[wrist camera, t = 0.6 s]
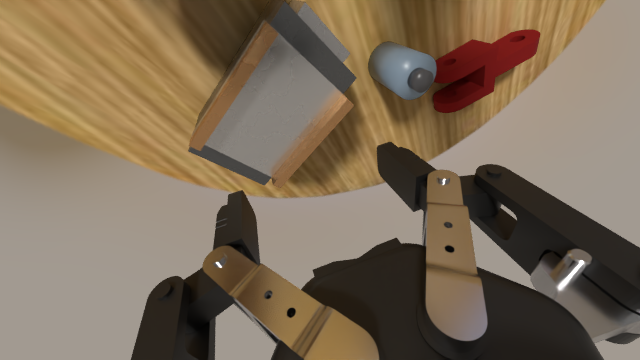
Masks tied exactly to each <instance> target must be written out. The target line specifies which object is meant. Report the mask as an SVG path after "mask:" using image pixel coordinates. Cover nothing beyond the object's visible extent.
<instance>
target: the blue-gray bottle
mask: <svg viewBox="0 0 640 360" xmlns="http://www.w3.org/2000/svg"><path fill="white" fill-rule="evenodd" d="M368 69H369V73H370V75H371V77H372V78H374V79H375V80H376V81H378V82H379V83H381V84H382V85H384V86H385V87H387V88H388V89H390V90H391V91H393V92H394V93H396V94H397V95H399V96H400V97H402V98H403V99H406V100H413V99H416V98H418V97H420V96H422V95H423V94H424V93H425V92H426V91H427V90H428V89H429V88H430V86H431V85H432V83H433V81H434V79H435V76H436V62H435V60H434V59H433V57H431V56H430V55H427V54H425V53H422V52H419V51H416V50H413V49H411V48H408V47H405V46H402V45H399V44H397V43H394V42H384V43H382V44H380V45H378V46H377V47H376V48H375V49H374V51H373V52H372V54H371V56H370V58H369V63H368Z"/></svg>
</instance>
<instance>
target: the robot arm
mask: <svg viewBox="0 0 640 360" xmlns="http://www.w3.org/2000/svg"><path fill="white" fill-rule="evenodd" d="M377 162H378V171H379V174H380V176H381V177H382V178H383V179H384V180H385V181H386V182H387V183H388V185H389V186H390V187H391V188H392V189H393V190H394V191H395V192H396V193H397V194H398V195H399V196H400V198H402V200H403V201H404V202H405V203H406V204H407V205H408V206H409V207H410V208H411V209H412V211H413V212H415V211H417V210H420V209H422V210H423V211H424V214H423V232H422V235H423V236H422V245H418V244H411V243H405V244H404V243H403V244H401V243H400V242H399V240H398V239H397V238H394V239H392V240H389V241H387V242H384V243H382V244H379V245H377V246H375V247H374V248H372V249H371V250H369V251H368V252H367V253H365V254H364V255H362V256H361V257H359V258H357V259H351V260H343V261H336V262H332V263H329V264H327V265H324V266H321V267H319V268H317V269H314V270H313V273H314V276H315V277H314V278H312V279H311V280H310V281H309V282H307V283H306V284H305V286H304V287H303V288H302V289H301V290H300V289H299V288H297V287H296V286H294V285H293V284H292V283H290V282H288V281H287V280H286V279H284V278H282V277H281V276H280V275H278V274H277V273H275V272H274V271H272V270H271V269H270V268H268V267H267V266H265V265H263V264H260V258H259V245H258V234H257V222H256V216H255V213H254V211H253V209H252V207H251V205H250V203H249V201H248V199H247V197H246V195H245V193H244V192H243V190H241V191H238V192H235V193H232V194H229V195H228V205H225V206H222V207H221V209H220V210H219V212H218V214H217V220H216V222H217V223H216V230H215V238H214V246H213V251H212V252H210V253H209V254H208V256H207V257H206V258H205V260H204V262H203V267H202V268H201V269H200V270H198V271H197V272H195V273H194V274H192V275H191V276H189V277H187V278H186V279H184V280H183V279H182V278H181V277H179V276H173V277H170V278H167V279H165V280H163V281H162V282H160V283H159V284H158V285H157V286H156V287H155V288H154V289H153V290H152V292H151V293H150V295H149V297H148V299H147V303H146V306H145V310H144V313H143V317H142V321H141V325H140V328H139V332H138V336H137V339H136V343H135V346H134V350H133V354H132V358H131V360H215V317H216V316H217V315H219V314H220V313H221V312H223V311H224V310H225V309H227V308H228V307H229V306H231V305H232V304H234V305H235V306H237V307H238V308H239V309H240V310H241V311H242V312H243V313H244V314H245V315H246V316H247V317H248V318H249V319H250V320H252V321H253V322H254V323H255V324H256V325H257V326H258V327H259V328H260V329H261V330H262V331H263V332H264V333H265V334H266V335H267V336H268V337H269V338H270V339H271V340H272V341H273V342H274V343H275V344H276V345H277V346H276V348H275V350H274V353H273V355H272V358H271V360H604V359H603V357H602V356H601V354H600V353H599V351H598V349H597V348H596V346H595V344H594V343H597V342H599V341H602V340H606V341H609V342H612V343H617V344H628V343H630V342H632V341H634V340H635V339H637V338H639V337H640V248H639V247H637V246H636V245H634V244H632V243H631V242H629V241H627V240H626V239H624V238H622V237H621V236H619V235H617V234H616V233H614V232H612V231H611V230H609V229H607V228H606V227H604V226H602V225H601V224H599V223H597V222H595V221H594V220H592V219H590V218H589V217H587V216H586V215H584V214H582V213H580V212H579V211H577V210H576V209H574V208H572V207H570V206H569V205H567V204H565V203H564V202H562V201H560V200H559V199H557V198H555V197H554V196H552V195H550V194H549V193H547V192H545V191H544V190H542V189H540V188H539V187H537V186H535V185H533V184H532V183H530V182H528V181H527V180H525V179H524V178H522V177H520V176H519V175H517V174H515V173H514V172H512V171H510V170H508V169H507V168H505V167H502V166H499V165H493V164H487V165H482V166H479V167H478V168H477V169H476V173H475V175H468V176H458V175H457V174H456V173H454V172H451V171H448V170H436V169H435V168H433V167H432V166H431V165H429V164H428V163H427V162H425V161H424V160H423V159H420V157H419V156H417V155H415V153H413V152H412V151H410V150H409V149H406V148H403V147H399V148H398V147H397V146H396V145H394V144H393V143H392V142H388V143H385V144H382V145H379V146H377ZM501 204H503V205H504V206H506V207H507V208H508V209H510V210H511V211H512V212H513V213H514V214H515V215H516V217H517V220H516V219H514V218H513V217H512V216H510V215H509V214H508V213H507V212H505V211H504V210H503V209H501V208H500V207H501ZM469 219H471V220H472V221H473V222H474V223H475V224H476V225H477V226H478V227H479V228H480V229H481V230H482V231H483V232H485V234H487V235H488V236H489V237H490V238H491V239H492V240H493V241H494V242H495V243H496V244H497V245H498V246H499V247H501V249H503V250H504V251H505V252H506V253H507V254H508V255H509V256H510V257H511V258H512V259H513V260H514V261H515V262H517V264H519V265H520V266H521V267H522V268H523V269H524V270H525V271H526V272H527V273H528V274H529V275H530V276H531V282H532V284H533V286H534V287H535V289H536V290H537V291H536V290H534V289H531V288H529V287H526V286H524V285H521V284H518V283H516V282H513V281H511V280H509V279H506V278H504V277H501V276H499V275H496V274H494V273H491V272H489V271H486V270H484V269H481V268H479V267H476V261H475V254H474V247H473V240H472V234H471V227H470V220H469Z"/></svg>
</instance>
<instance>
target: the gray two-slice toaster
mask: <svg viewBox="0 0 640 360" xmlns="http://www.w3.org/2000/svg"><path fill="white" fill-rule="evenodd" d="M349 54H350V53H349V52H348V50H347V49H346V48H345V47H344V46H343V45H342V44H341V42H340V41H339V40H338V39H337V38H336V37H335V36H334V35H333V33H332V32H331V31H330V30H329V29H328V28H327V27H326V25H325V24H324V23H323V22H322V21H321V20H320V19H319V17H318V16H317V15H316V14H315V13H314V12H313V11H312V9H311V8H310V7H309V6H308V5H307V4H306V3H305V2H302V1H298V0H291V2H290V4H289V5H288V4H287V3H286V2H285V1H283V0H270V1H269V2H268V4H267V6H266V7H265V9H264V11H263V12H262V14H261V15H260V17H259V19H258V20H257V22H256V23H255V25H254V27H253V28H252V30H251V31H250V33H249V35H248V36H247V38H246V40H245V41H244V43H243V44H242V46H241V48H240V49H239V51H238V52H237V54H236V56H235V57H234V59H233V60H232V62H231V64H230V65H229V67H228V69H227V70H226V72H225V73H224V75H223V77H222V78H221V80H220V81H219V83H218V85H217V86H216V88H215V89H214V91H213V93H212V94H211V96H210V98H209V99H208V101H207V102H206V104H205V106H204V107H203V109H202V110H201V112H200V114H199V116H198V120H197V123H196V126H195V130H194V131H193V133H192V137H191V140H190V143H189V146H190V147H189V150H188V151H189V152H191V153H193V154H196V155H198V156H200V157H202V158H205V159H207V160H209V161H211V162H213V163H216V164H218V165H220V166H222V167H225V168H227V169H229V170H231V171H233V172H236V173H238V174H240V175H242V176H245V177H247V178H249V179H251V180H254V181H256V182H258V183H260V184H262V185H265V184H266V183H267V182H268V181H269V180H270V179H271V177H272V183H273V185H274V186H276V187H279V188H281V187H282V186H283V184H284V183H285V182H286V181H287V180H288V179H289V178H290V177H291V176H292V174H293V173H294V172H295V171H296V170H297V169H298V168H299V167H300V166H301V164H302V163H303V162H304V161H305V160H306V159H307V158H308V157H309V155H310V154H311V153H312V152H313V151H314V150H315V149H316V148H317V147H318V145H319V144H320V143H321V142H322V141H323V140H324V139H325V138H326V137H327V135H328V134H329V133H330V132H331V131H332V130H333V129H334V128H335V126H336V125H337V124H338V123H339V122H340V121H341V120H342V119H343V118H344V116H345V115H346V114H347V113H348V112H349V111H350V110H351V109H352V108H353V106H354V104H353V103H352V102H351V101H350V100H349V99H348V98H347V97H346V96H345V95H344V94H343V93H344V92H345V91H346V90H347V89H348V88H349V86H350V85H351V84H352V83H353V82H354V81H355V79H356V77H355V76H354V74H353V73H352V72H351V71H350V70H349V69H348V68H347V67H346V66H345V65H344V64H343V62H344V61H345V59H346V58H347V57H348V56H349Z"/></svg>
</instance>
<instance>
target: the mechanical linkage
mask: <svg viewBox="0 0 640 360" xmlns="http://www.w3.org/2000/svg"><path fill="white" fill-rule="evenodd" d="M539 38H540V32H538V31H536V30H520V31H515V32H512V33H510V34H508V35H506V36H504V37H503V38H501V39H499V40H497V41H495V42H494V43H492V44H490V43H486V42H481V41H477V40H471V41H469V42H467V43H465V44H464V45H462V46H460V47H458V48H457V49H455V50H453V51H451V52H450V53H448V54H446V55H445V56H443V57H441V58H439V59H438V60H436V61H435V62H436V76H435V79H434V82H436V83H450V82H453V83H452V84H450V85H448V86H446V87H444V88H443V89H441V90H439V91H437V92H436V93H435V94H434V96H433V101H434V108H435V110H436V111H438V112H442V113H451V112H456V111H458V110H461V109H463V108H464V107H466V106H468V105H470V104H472V103H473V102H475V101H477V100H479V99H481V98H483V97H484V96H486V95H488V94H490V93H492V92H494V84H495V77H497V76H499V75H501V74H502V73H504V72H506V71H508V70H510V69H511V68H513V67H515V66H517V65H519V64H520V63H522V62H524V61H526V60H528V59H529V58H531V57H533V56H534V55H535V54H536V52H537V47H538V43H539ZM454 81H455V82H454Z"/></svg>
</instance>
